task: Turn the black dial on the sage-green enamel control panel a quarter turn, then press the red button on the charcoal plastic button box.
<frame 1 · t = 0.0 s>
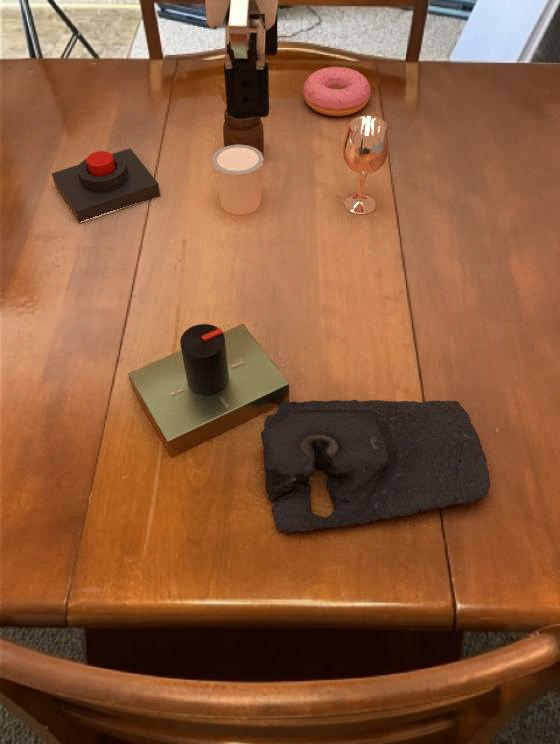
hand: (253, 82, 55), 31 cm above the table, tool pointing down, fingers open, 9 cm apart
wineglass: (359, 205, 95), on the table
dark grey slotted slab: (371, 464, 68), on the table
start button: (100, 163, 93), point 4 cm above the table, slide at 0.1 cm
doughnut: (335, 103, 111), on the table
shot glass: (240, 203, 95), on the table
utensil holder: (243, 155, 102), on the table
dial: (205, 358, 69), point 6 cm above the table, hinge at 0.0°
control panel: (210, 395, 74), on the table
button box: (107, 191, 97), on the table
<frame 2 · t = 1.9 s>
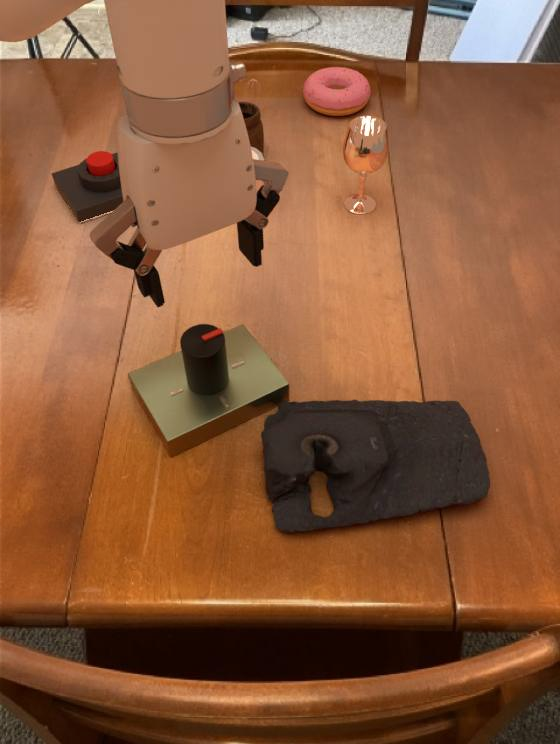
hand: (203, 276, 61), 17 cm above the table, tool pointing down, fingers open, 9 cm apart
nothing on the table moved.
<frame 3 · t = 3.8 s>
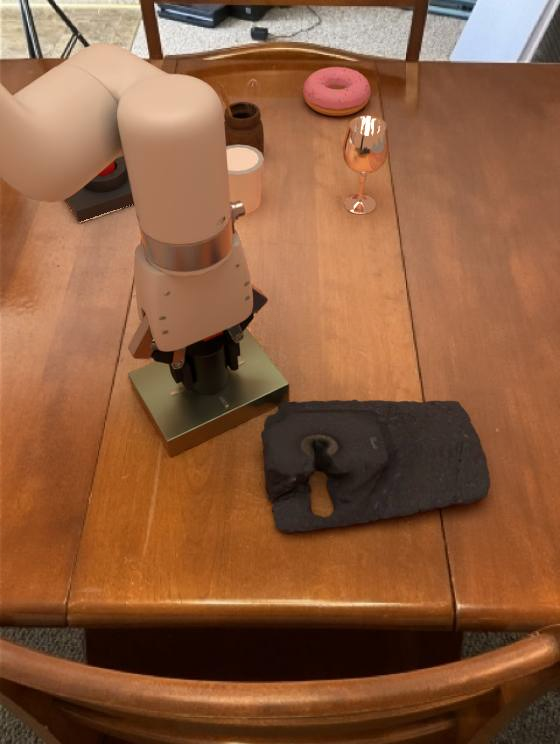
hand: (206, 370, 70), 4 cm above the table, tool pointing down, fingers closed on dial, 4 cm apart
dial: (205, 358, 69), point 6 cm above the table, hinge at 0.0°, touching gripper
everything else where it was.
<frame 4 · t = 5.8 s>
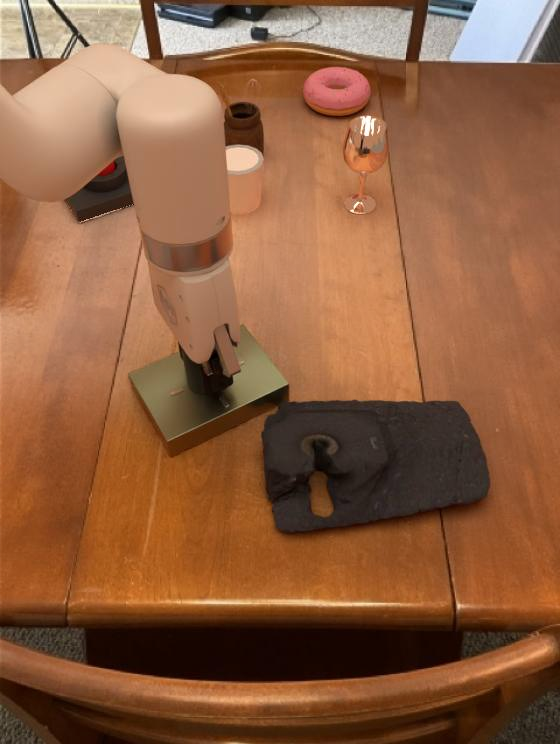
hand: (206, 370, 70), 4 cm above the table, tool pointing down, fingers closed on dial, 4 cm apart
dial: (205, 358, 69), point 6 cm above the table, hinge at 90.2°, touching gripper
everything else where it was.
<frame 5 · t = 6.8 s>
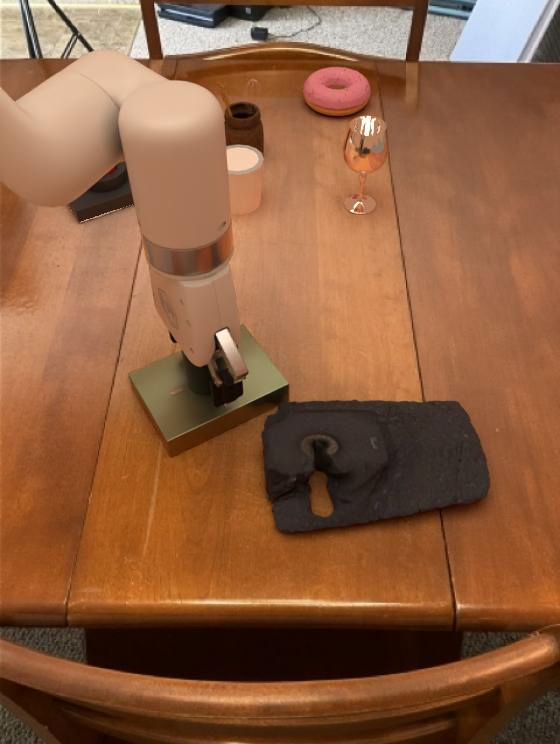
hand: (206, 367, 70), 5 cm above the table, tool pointing down, fingers open, 9 cm apart
dial: (205, 358, 69), point 6 cm above the table, hinge at 88.2°
everything else where it was.
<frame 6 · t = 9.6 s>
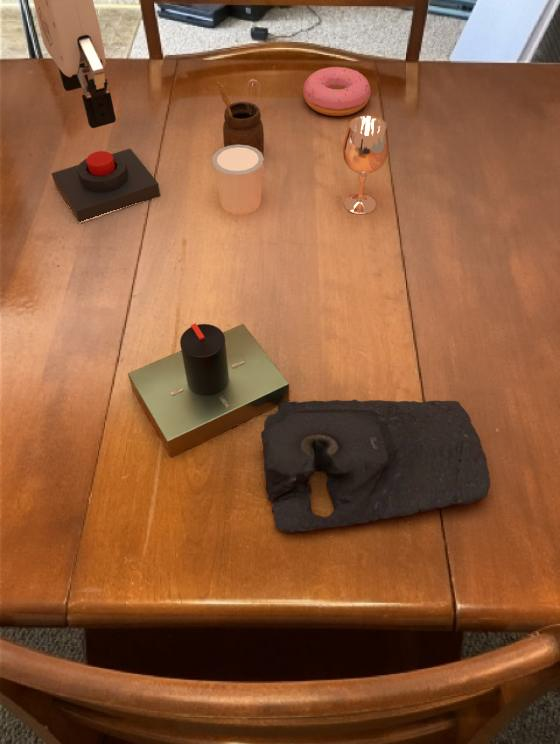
hand: (89, 105, 84), 14 cm above the table, tool pointing down, fingers open, 9 cm apart
nothing on the table moved.
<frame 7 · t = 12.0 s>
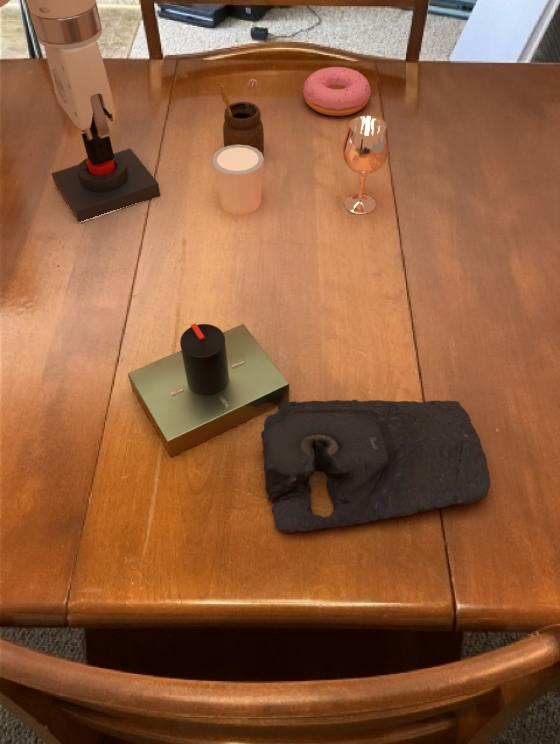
hand: (101, 159, 93), 5 cm above the table, tool pointing down, fingers closed
start button: (101, 165, 93), point 4 cm above the table, slide at -0.1 cm, touching gripper
everything else where it was.
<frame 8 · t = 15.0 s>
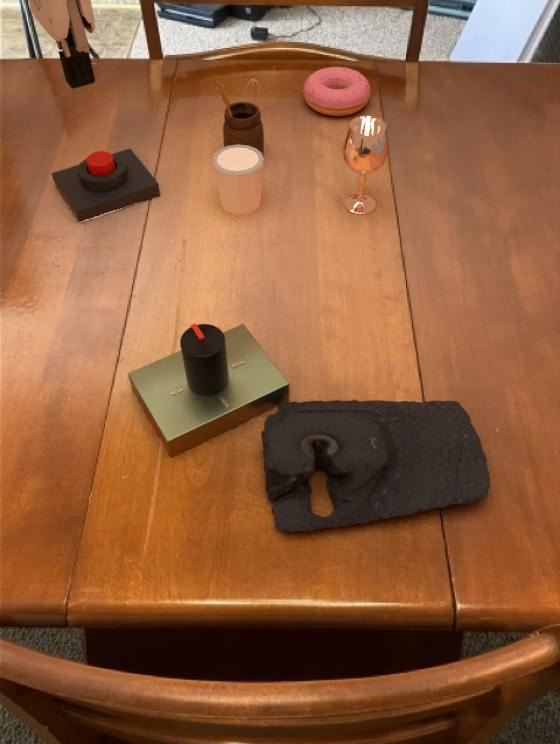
hand: (81, 82, 84), 16 cm above the table, tool pointing down, fingers closed
start button: (100, 163, 93), point 4 cm above the table, slide at 0.1 cm
everything else where it was.
at the end: dial at +88° (first picture: +0°); start button pushed in 1.1 cm at the most during the clip, back to where it started at the end; start button slide at 0.1 cm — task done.
